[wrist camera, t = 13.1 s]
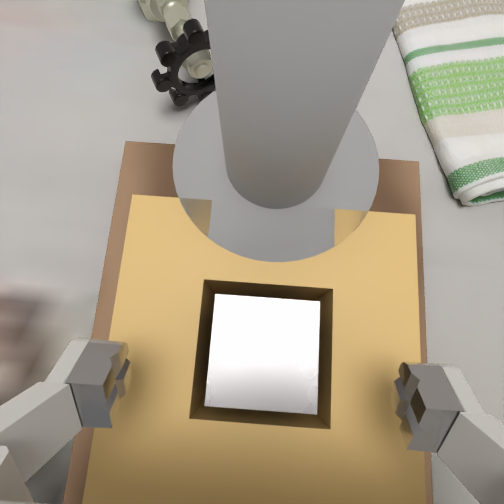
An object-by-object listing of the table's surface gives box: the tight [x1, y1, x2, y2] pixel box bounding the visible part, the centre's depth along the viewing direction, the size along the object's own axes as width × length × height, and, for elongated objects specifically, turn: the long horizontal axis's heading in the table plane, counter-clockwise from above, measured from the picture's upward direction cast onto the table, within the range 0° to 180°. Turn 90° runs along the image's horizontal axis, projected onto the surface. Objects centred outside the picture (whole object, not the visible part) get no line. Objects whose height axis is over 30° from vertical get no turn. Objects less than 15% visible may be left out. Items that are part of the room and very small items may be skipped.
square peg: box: [205, 294, 320, 415], centre depth 17 cm, size 4×4×10 cm
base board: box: [63, 141, 433, 504], centre depth 23 cm, size 20×23×2 cm
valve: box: [138, 0, 215, 106], centre depth 26 cm, size 7×7×12 cm
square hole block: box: [82, 0, 426, 504], centre depth 13 cm, size 12×18×20 cm, turn 176°
